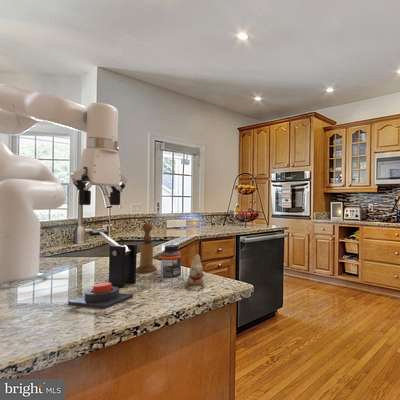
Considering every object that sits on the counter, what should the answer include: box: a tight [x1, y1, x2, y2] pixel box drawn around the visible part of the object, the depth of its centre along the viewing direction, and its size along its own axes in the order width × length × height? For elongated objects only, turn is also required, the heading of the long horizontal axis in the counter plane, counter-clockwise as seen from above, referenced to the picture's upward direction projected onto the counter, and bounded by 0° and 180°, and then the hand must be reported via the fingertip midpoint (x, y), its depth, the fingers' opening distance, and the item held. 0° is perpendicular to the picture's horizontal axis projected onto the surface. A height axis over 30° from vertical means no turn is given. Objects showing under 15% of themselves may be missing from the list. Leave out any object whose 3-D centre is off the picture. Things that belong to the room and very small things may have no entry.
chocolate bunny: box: [186, 254, 205, 290], centre depth 84 cm, size 6×8×10 cm
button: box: [92, 281, 112, 293], centre depth 67 cm, size 4×4×2 cm
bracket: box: [108, 243, 138, 289], centre depth 80 cm, size 10×8×13 cm
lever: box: [88, 229, 132, 258], centre depth 81 cm, size 12×5×2 cm, turn 77°
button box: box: [67, 286, 134, 310], centre depth 67 cm, size 10×8×4 cm
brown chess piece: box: [136, 222, 158, 274], centre depth 97 cm, size 7×6×18 cm
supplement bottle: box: [160, 244, 182, 279], centre depth 91 cm, size 6×6×11 cm
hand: (100, 205), depth 82 cm, fingers open, 9 cm apart
